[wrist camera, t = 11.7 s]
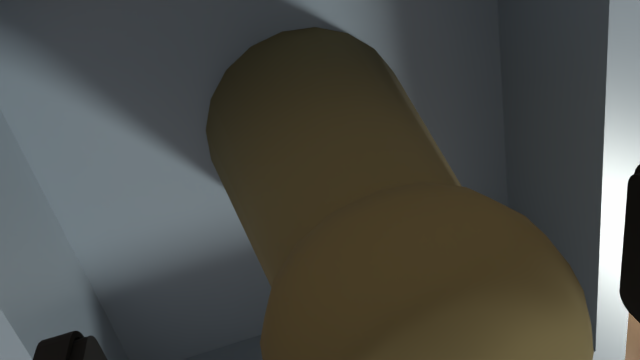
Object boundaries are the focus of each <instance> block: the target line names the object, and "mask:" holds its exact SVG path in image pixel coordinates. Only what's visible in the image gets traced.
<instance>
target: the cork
mask: <svg viewBox="0 0 640 360" xmlns="http://www.w3.org/2000/svg"><path fill="white" fill-rule="evenodd" d="M206 135H207V140H208V146H209V151H210V156H211V161H212V163H213V165H214V167H215V169H216V171H217V173H218V175H219V177H220V180H221V182H222V184H223V186H224V188H225V190H226V192H227V194H228V197H229V199H230V201H231V203H232V205H233V207H234V209H235V211H236V214H237V216H238V218H239V220H240V222H241V224H242V226H243V228H244V231H245V233H246V235H247V237H248V239H249V241H250V243H251V245H252V248H253V250H254V252H255V254H256V256H257V258H258V260H259V262H260V264H261V267H262V269H263V271H264V273H265V275H266V277H267V279H268V281H269V284H270V286H271V291H270V295H269V300H268V304H267V308H266V312H265V317H264V322H263V328H262V334H261V340H260V347H261V353H262V359H263V360H593V355H594V350H593V338H592V327H591V322H590V317H589V313H588V308H587V304H586V299H585V295H584V291H583V289H582V287H581V285H580V283H579V281H578V279H577V277H576V276H575V274H574V272H573V270H572V268H571V266H570V264H569V263H568V262H567V261H566V260H565V258H564V257H563V256H562V255H561V253H560V252H559V251H558V250H557V248H556V247H555V246H554V245H553V243H552V242H551V241H550V240H549V238H548V237H547V236H546V235H545V234H544V233H543V232H542V231H541V230H540V229H539V228H538V227H537V226H535V225H534V224H533V223H532V222H531V221H530V220H529V219H528V218H527V217H526V216H525V215H523V214H521V213H519V212H517V211H515V210H513V209H511V208H509V207H507V206H505V205H503V204H501V203H499V202H497V201H495V200H493V199H491V198H489V197H487V196H485V195H483V194H480V193H478V192H476V191H474V190H472V189H469V188H467V187H462V186H461V184H460V183H459V181H458V179H457V178H456V176H455V174H454V172H453V171H452V169H451V167H450V166H449V164H448V162H447V161H446V159H445V157H444V156H443V154H442V152H441V151H440V149H439V147H438V146H437V144H436V142H435V141H434V139H433V137H432V136H431V134H430V132H429V130H428V129H427V127H426V125H425V124H424V122H423V120H422V119H421V117H420V115H419V114H418V112H417V110H416V109H415V107H414V105H413V104H412V102H411V100H410V99H409V97H408V95H407V94H406V92H405V90H404V88H403V87H402V85H401V83H400V82H399V80H398V78H397V77H396V75H395V73H394V72H393V71H392V69H391V68H390V67H389V66H388V64H387V63H386V62H385V61H384V60H383V58H382V57H381V56H380V55H379V54H378V52H377V51H376V50H375V49H374V48H372V47H370V46H369V45H367V44H365V43H364V42H362V41H360V40H358V39H357V38H355V37H353V36H352V35H350V34H348V33H344V32H339V31H334V30H328V29H323V28H318V27H312V28H305V29H297V30H290V31H282V32H280V33H278V34H276V35H274V36H272V37H270V38H268V39H266V40H263V41H261V42H259V43H257V44H255V45H253V46H251V47H250V48H249V49H248V50H247V51H246V52H245V53H244V54H243V55H241V56H240V57H239V58H238V59H237V60H236V61H235V62H234V63H233V64H232V65H231V66H230V67H229V68H228V69H227V70H226V71H225V73H224V75H223V77H222V79H221V81H220V83H219V84H218V86H217V88H216V90H215V92H214V94H213V96H212V98H211V100H210V106H209V112H208V119H207V125H206Z"/></svg>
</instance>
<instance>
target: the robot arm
mask: <svg viewBox="0 0 640 360" xmlns="http://www.w3.org/2000/svg"><path fill="white" fill-rule="evenodd" d="M619 292H620V297H621V300H622V302H623V304H624V306H625V308H626V309H627V310H628V311H629V313H630V314H631V315H632V316H633V317H634V318H635V319H636V320H637V321H638V322H639V323H640V165H638V166H637V168H636V169H635V172H634V175H632V176H630V178H629V180H628V185H627V198H626V211H625V224H624V237H623V250H622V262H621V275H620V288H619ZM33 360H108V359H107V358H106V356H105V354H104V352H103V350H102V348H101V347H100V345H99V343H98V341H97V340H96V338H95V337H94V336H87V337H84V336H83V334H82V333H81V332H79V331H72V332H68V333H65V334H62V335H58V336H55V337H51V338H48V339H45V340H42V341H40V342H39V343H38V345H37V347H36V350H35V354H34V357H33Z"/></svg>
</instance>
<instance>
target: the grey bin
mask: <svg viewBox="0 0 640 360" xmlns="http://www.w3.org/2000/svg"><path fill="white" fill-rule="evenodd" d="M312 27H318V28H323V29H328V30H334V31H339V32H344V33H348V34H350V35H352V36H353V37H355V38H357V39H358V40H360V41H362V42H364V43H365V44H367V45H369V46H370V47H372V48H374V49H375V50H376V51H377V52H378V54H379V55H380V56H381V57H382V58H383V60H384V61H385V62H386V63H387V64H388V66H389V67H390V68H391V69H392V71H393V72H394V73H395V75H396V77H397V78H398V80H399V82H400V83H401V85H402V87H403V88H404V90H405V92H406V94H407V95H408V97H409V99H410V100H411V102H412V104H413V105H414V107H415V109H416V110H417V112H418V114H419V115H420V117H421V119H422V120H423V122H424V124H425V125H426V127H427V129H428V130H429V132H430V134H431V136H432V137H433V139H434V141H435V142H436V144H437V146H438V147H439V149H440V151H441V152H442V154H443V156H444V157H445V159H446V161H447V162H448V164H449V166H450V167H451V169H452V171H453V172H454V174H455V176H456V178H457V179H458V181H459V183H460V184H461V186H462V187H467V188H469V189H472V190H474V191H476V192H478V193H480V194H483V195H485V196H487V197H489V198H491V199H493V200H495V201H497V202H499V203H501V204H503V205H505V206H507V207H509V208H511V209H513V210H515V211H517V212H519V213H521V214H523V215H525V216H526V217H527V218H528V219H529V220H530V221H531V222H532V223H533V224H534V225H535V226H537V227H538V228H539V229H540V230H541V231H542V232H543V233H544V234H545V235H546V236H547V237H548V238H549V240H550V241H551V242H552V243H553V245H554V246H555V247H556V248H557V250H558V251H559V252H560V253H561V255H562V256H563V257H564V258H565V260H566V261H567V262H568V263H569V264H570V266H571V268H572V270H573V272H574V274H575V276H576V277H577V279H578V281H579V283H580V285H581V287H582V289H583V291H584V295H585V299H586V304H587V308H588V313H589V317H590V322H591V327H592V338H593V350H594V355H593V360H625V352H626V339H627V325H628V312H629V311H628V310H627V309H626V308H625V306H624V304H623V302H622V300H621V297H620V292H619V288H620V275H621V262H622V250H623V237H624V224H625V211H626V198H627V185H628V180H629V178H630V176H632V175H634V172H635V169H636V168H637V166H638V165H640V0H0V360H33V357H34V354H35V350H36V347H37V345H38V343H39V342H40V341H42V340H45V339H48V338H51V337H55V336H58V335H62V334H65V333H68V332H72V331H79V332H81V333H82V334H83V336H84V337H87V336H94V337H95V338H96V340H97V341H98V343H99V345H100V347H101V348H102V350H103V352H104V354H105V356H106V358H107V359H108V360H263V359H262V353H261V347H260V340H261V334H262V328H263V322H264V317H265V312H266V308H267V304H268V300H269V295H270V291H271V286H270V284H269V281H268V279H267V277H266V275H265V273H264V271H263V269H262V267H261V264H260V262H259V260H258V258H257V256H256V254H255V252H254V250H253V248H252V245H251V243H250V241H249V239H248V237H247V235H246V233H245V231H244V228H243V226H242V224H241V222H240V220H239V218H238V216H237V214H236V211H235V209H234V207H233V205H232V203H231V201H230V199H229V197H228V194H227V192H226V190H225V188H224V186H223V184H222V182H221V180H220V177H219V175H218V173H217V171H216V169H215V167H214V165H213V163H212V161H211V156H210V151H209V146H208V140H207V135H206V125H207V119H208V112H209V106H210V100H211V98H212V96H213V94H214V92H215V90H216V88H217V86H218V84H219V83H220V81H221V79H222V77H223V75H224V73H225V71H226V70H227V69H228V68H229V67H230V66H231V65H232V64H233V63H234V62H235V61H236V60H237V59H238V58H239V57H240V56H241V55H243V54H244V53H245V52H246V51H247V50H248V49H249V48H250V47H251V46H253V45H255V44H257V43H259V42H261V41H263V40H266V39H268V38H270V37H272V36H274V35H276V34H278V33H280V32H282V31H290V30H297V29H305V28H312Z"/></svg>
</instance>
